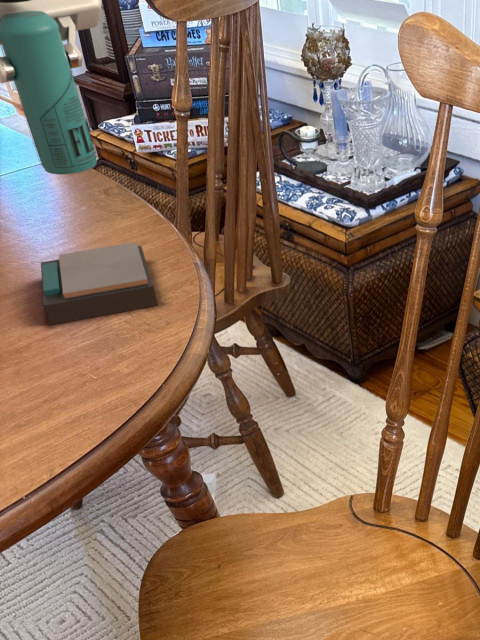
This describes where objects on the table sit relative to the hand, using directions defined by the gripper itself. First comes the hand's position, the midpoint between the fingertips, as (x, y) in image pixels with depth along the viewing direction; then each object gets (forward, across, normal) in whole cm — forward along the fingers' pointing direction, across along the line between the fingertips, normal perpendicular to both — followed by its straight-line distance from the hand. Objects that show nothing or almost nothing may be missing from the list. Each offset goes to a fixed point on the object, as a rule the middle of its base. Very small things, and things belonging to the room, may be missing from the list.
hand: (43, 71), depth 85 cm
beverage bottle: (+8, 0, +9) cm, 12 cm away
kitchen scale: (+18, -2, +17) cm, 25 cm away
